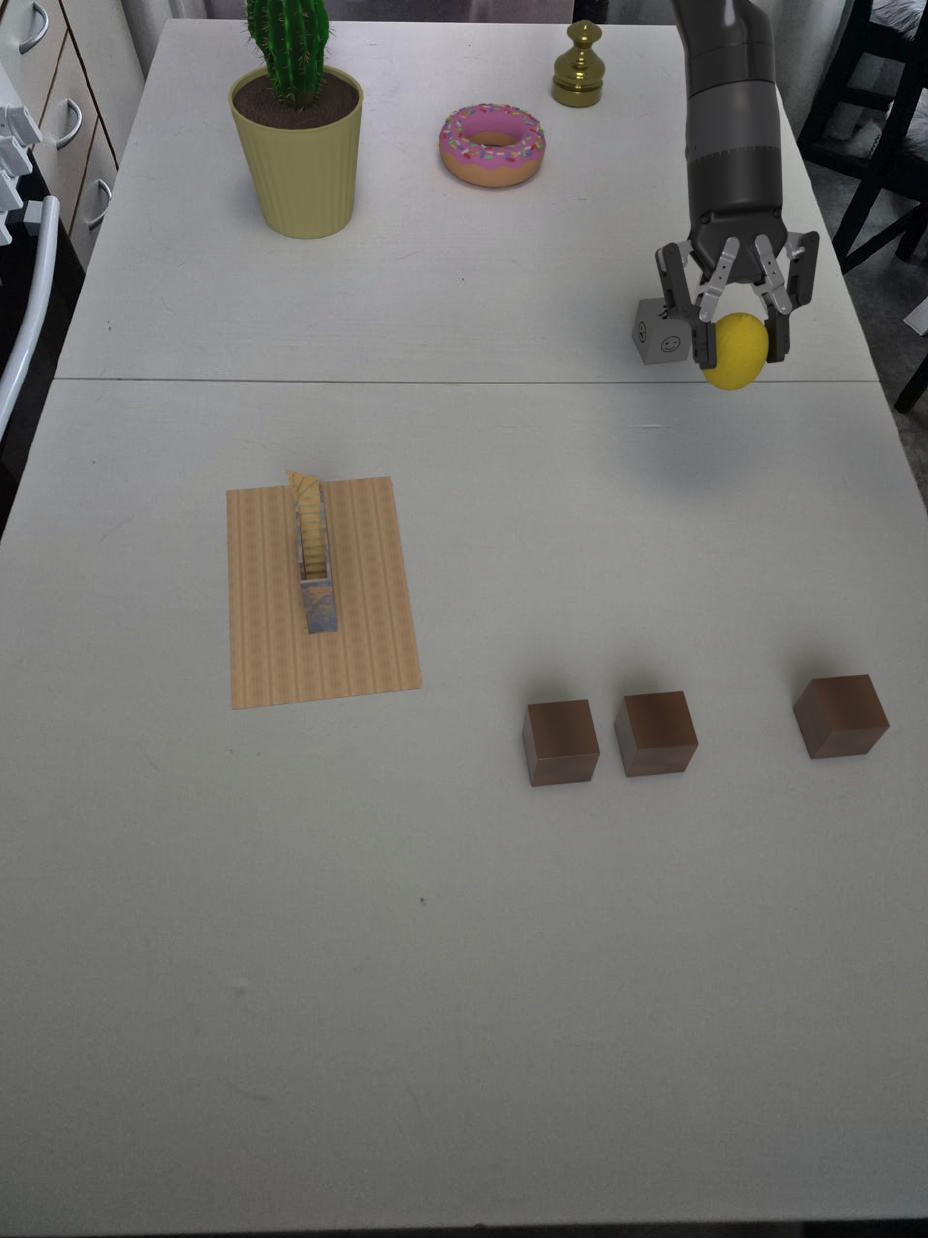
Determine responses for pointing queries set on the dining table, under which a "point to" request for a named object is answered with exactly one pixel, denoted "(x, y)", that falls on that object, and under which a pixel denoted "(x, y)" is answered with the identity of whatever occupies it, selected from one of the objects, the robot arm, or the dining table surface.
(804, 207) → the dining table surface
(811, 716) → the walnut block
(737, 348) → the lemon
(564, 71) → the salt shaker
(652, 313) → the dice cube
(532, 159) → the donut
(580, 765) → the walnut block
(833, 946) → the dining table surface
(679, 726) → the walnut block
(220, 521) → the dining table surface
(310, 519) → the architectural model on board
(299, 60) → the potted cactus
